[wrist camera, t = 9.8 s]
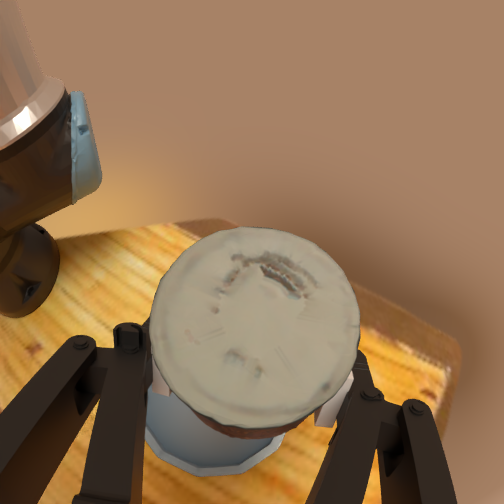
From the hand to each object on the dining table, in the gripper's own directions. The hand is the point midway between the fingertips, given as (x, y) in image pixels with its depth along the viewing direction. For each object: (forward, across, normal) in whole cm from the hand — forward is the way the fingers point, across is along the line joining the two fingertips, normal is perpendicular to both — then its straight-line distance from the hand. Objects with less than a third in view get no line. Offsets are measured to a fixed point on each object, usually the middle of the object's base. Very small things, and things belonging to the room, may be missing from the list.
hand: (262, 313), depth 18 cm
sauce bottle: (+4, 0, -8) cm, 9 cm away
